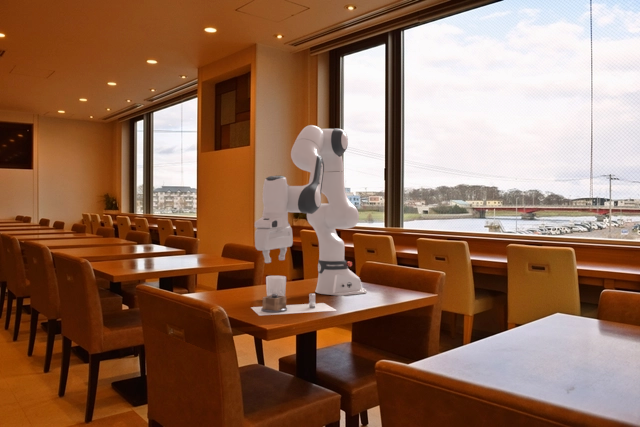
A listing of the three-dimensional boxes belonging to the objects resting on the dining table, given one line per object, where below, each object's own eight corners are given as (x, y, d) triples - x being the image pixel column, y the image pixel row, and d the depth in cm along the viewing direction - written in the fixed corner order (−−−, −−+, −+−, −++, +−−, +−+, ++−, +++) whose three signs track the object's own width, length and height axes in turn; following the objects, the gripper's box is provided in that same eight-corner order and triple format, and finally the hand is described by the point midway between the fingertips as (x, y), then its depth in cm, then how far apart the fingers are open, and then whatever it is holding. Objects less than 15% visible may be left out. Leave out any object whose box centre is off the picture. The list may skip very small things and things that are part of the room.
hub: (283, 306, 186) (283, 291, 186) (290, 311, 177) (290, 295, 177) (258, 308, 183) (259, 292, 183) (264, 313, 174) (264, 296, 174)
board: (323, 306, 194) (323, 303, 194) (337, 314, 181) (337, 310, 181) (250, 311, 185) (250, 307, 184) (259, 319, 171) (259, 315, 171)
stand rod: (314, 306, 186) (314, 293, 186) (316, 308, 184) (316, 294, 184) (308, 307, 186) (308, 293, 185) (310, 308, 183) (310, 294, 183)
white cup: (290, 302, 202) (290, 277, 202) (275, 305, 196) (275, 279, 196) (276, 299, 208) (276, 274, 207) (261, 302, 202) (261, 276, 202)
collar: (271, 305, 184) (271, 294, 184) (286, 307, 182) (286, 296, 182) (262, 308, 179) (262, 297, 179) (277, 310, 176) (277, 299, 176)
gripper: (282, 220, 190) (281, 258, 191) (251, 222, 172) (251, 264, 172) (297, 221, 188) (296, 259, 188) (267, 223, 169) (267, 265, 169)
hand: (274, 261), depth 180 cm, fingers open, 8 cm apart
